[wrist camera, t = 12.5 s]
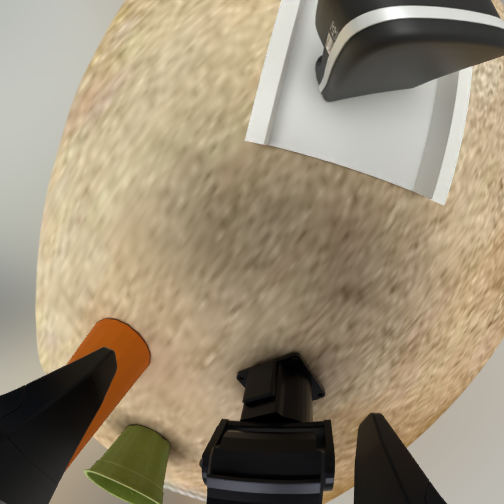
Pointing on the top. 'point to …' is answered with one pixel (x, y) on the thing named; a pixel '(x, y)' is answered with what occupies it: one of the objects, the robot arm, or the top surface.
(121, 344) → the spray bottle
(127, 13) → the top surface
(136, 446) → the plant pot
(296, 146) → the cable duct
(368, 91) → the battery charger
